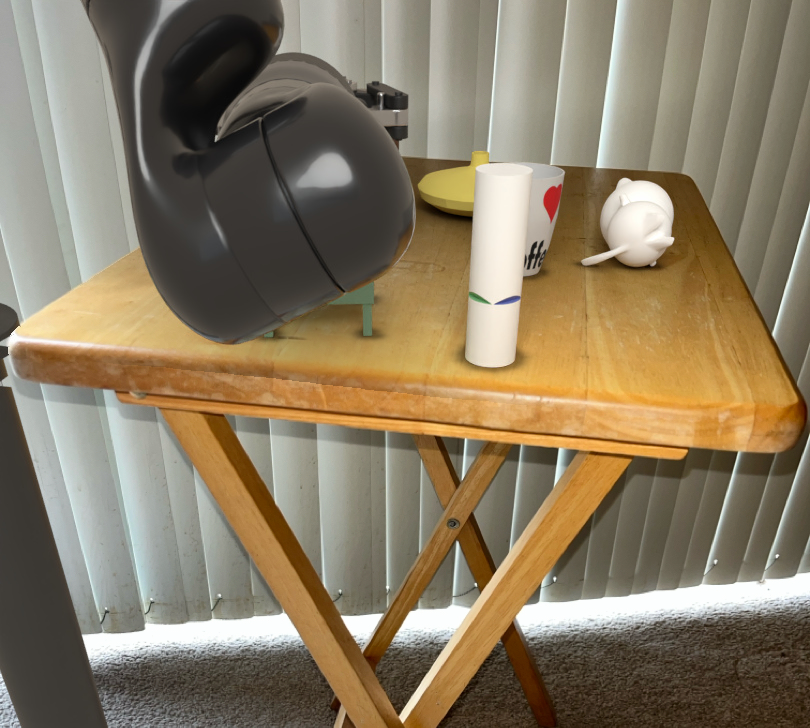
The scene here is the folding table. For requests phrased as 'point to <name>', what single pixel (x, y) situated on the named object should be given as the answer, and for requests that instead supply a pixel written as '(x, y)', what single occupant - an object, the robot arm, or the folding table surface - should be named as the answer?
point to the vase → (453, 186)
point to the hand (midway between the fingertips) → (304, 92)
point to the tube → (497, 262)
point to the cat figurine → (636, 224)
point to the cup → (541, 213)
